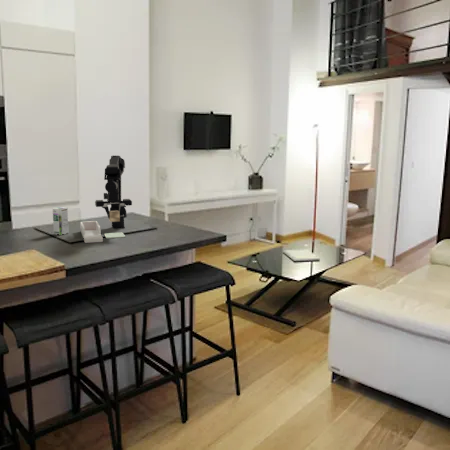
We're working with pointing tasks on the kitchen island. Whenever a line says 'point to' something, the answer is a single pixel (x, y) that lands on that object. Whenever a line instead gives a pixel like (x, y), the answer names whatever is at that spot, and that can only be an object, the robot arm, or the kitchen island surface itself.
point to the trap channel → (91, 231)
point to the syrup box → (60, 220)
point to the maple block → (114, 216)
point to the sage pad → (114, 235)
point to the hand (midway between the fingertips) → (114, 218)
